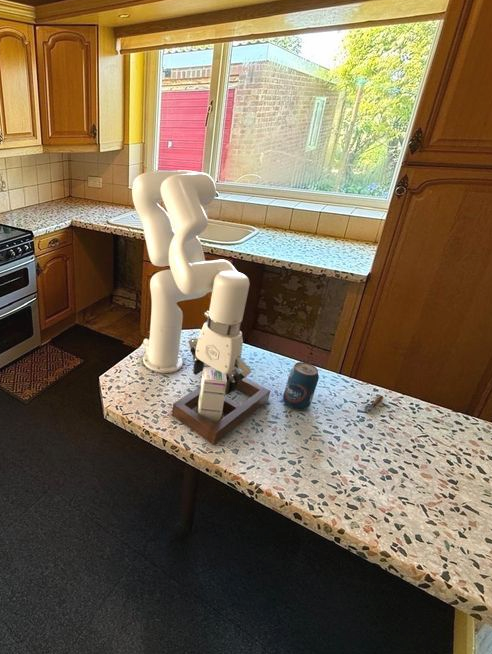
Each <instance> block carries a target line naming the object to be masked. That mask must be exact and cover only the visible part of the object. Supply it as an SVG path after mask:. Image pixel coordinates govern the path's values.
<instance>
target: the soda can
mask: <svg viewBox="0 0 492 654" xmlns="http://www.w3.org/2000/svg"><path fill="white" fill-rule="evenodd" d="M319 379H320V375H319V370H318V368H317V367H316V366H315V365H313V364H312V363H309V362H304V361H299V362H296V363H295V364H294V365H293V366H292V367H291V368H290V370H289V374H288V377H287V381H286V384H285V388H284V392H283V395H282V396H283V397H282V398H283V401H284V403H285V404H286V405H287V407H289V408H290V409H293V410H296V411H304V410H306V409H308V408H309V407H311V404H312V402H313V398H314V394H315V392H316V388H317V385H318V382H319Z"/></svg>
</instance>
